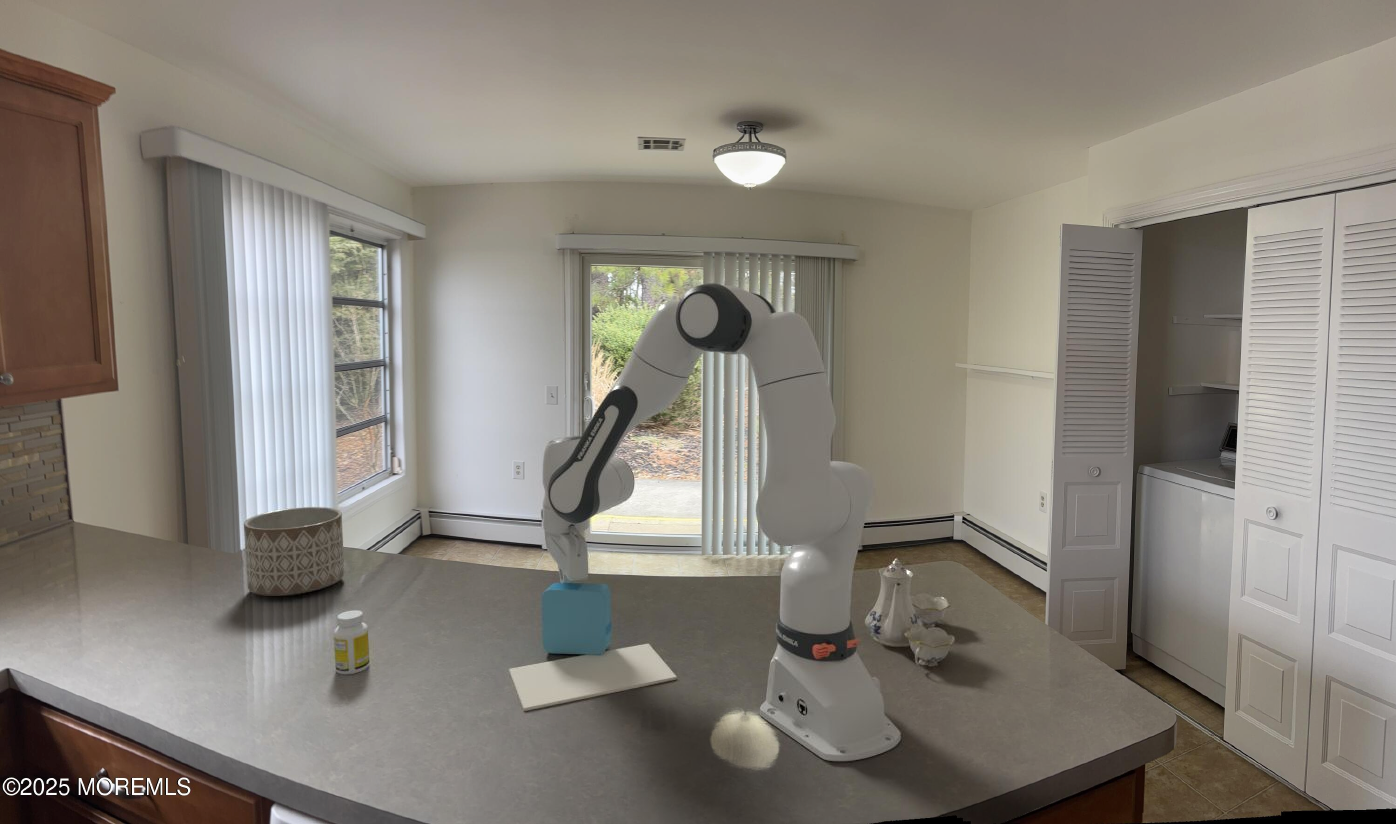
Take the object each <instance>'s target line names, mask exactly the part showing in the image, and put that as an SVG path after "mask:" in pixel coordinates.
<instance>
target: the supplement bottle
mask: <svg viewBox="0 0 1396 824" xmlns="http://www.w3.org/2000/svg"><path fill="white" fill-rule="evenodd" d="M336 619H337V627H336V628H335V629H334V630H333V646H334V663H335V671H336V672H337V673H338V674H339V675H353V674H357V673H360V672H363V671H364V670H366V669H367V668H368V667H369V666H370V646H369V645H370V644H369V642H370V641H369V628H368V625H367V624H366V623H365V622H363V621H364V614H363V611H361V610H356V609H355V610H347V611H343V612H342V613H339V614H338V615H337V618H336Z"/></svg>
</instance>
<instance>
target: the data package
mask: <svg viewBox="0 0 1396 824" xmlns="http://www.w3.org/2000/svg"><path fill="white" fill-rule="evenodd" d="M611 597H612V596H611V589H610V587H609V586H608V585H606V583H580V582H577V583H575V582H573V583H560V582H554V583H552V584H550V586H548V587H547V588H546V589H545V590H544V591H543V592H542V594H541V627H542V628H541V630H542V631H541V632H542V647H543V650H544V651H545V652H546V653H549V654H557V655H558V654H560V655H561V654H563V655H600V654H602V653H604V651H607V648H608V646H610V643H611V641H612V603H611V602H612V601H611V599H612V598H611Z"/></svg>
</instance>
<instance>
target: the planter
mask: <svg viewBox="0 0 1396 824" xmlns="http://www.w3.org/2000/svg"><path fill="white" fill-rule="evenodd" d="M342 518H343V515H342V511H340V510H339V509H336V508H332V507H322V506H309V507H308V506H307V507H293V508H285V509H284V508H283V509H278V510H272V511H267V512H264V513H260V514H256V515H254V516H251V517H249V518H247V519H246V520H244V522H243V531H244V532H243V533H244V548H245V549H244V551H245V563H246V564H245V566H246V567H245V568H246V582H247V588H248V590H249V591H250V592H251V593H253V594H255V595H259V596H266V597H267V596H269V597H281V596H295V595H294V594H298V595H302V594H301V593H303V594H307V593H310V592H315V591H318V590H321V589H324V588H327V587H330V586H331V585H335V584H336V583H337V582H339V581H340V580H342V578H343V577H344V575H345V557H344V537H343V536H344V535H343V519H342ZM306 592H307V593H306Z"/></svg>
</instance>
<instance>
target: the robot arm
mask: <svg viewBox="0 0 1396 824" xmlns="http://www.w3.org/2000/svg"><path fill="white" fill-rule="evenodd" d="M705 352H710V353H720V354H722V355H743V356H745V357H746V359H747V360H748V362H749V363H750V365H751V368H752V371H753V375H754V380H755V385H756V386H755V387H756V389H757V394H758V400H759V404H760V408H761V412H762V413H761V414H762V418H763V424H764V429H765V436H766V467H765V477H764V483H763V486H762V488H761V491H760V493H759V495H758V497H757V499H756V504H755V517H756V521H757V525H758V526H759V529H760V530H761V532H762V533H763V534H764V536H766V537H767V539H768V540H770V541H771V542H773V543H774V544H776V545H779V546H782V547H791V550H790V552H789V554H788V556H787V558H786V560H785V561H784V564H783V566H782V568H781V573H780V594H779V595H780V598H779V599H780V600H779V601H780V602H779V613H778V616H777V617H776V618H777V619H776V624H775V631H776V634H775V635H776V641H777V646H776V649H775V652H774V653H773V657H772V658H771V660H770V663H769V671H768V679H767V685H766V687H767V689H766V697H765V701H764V702H763V703H762V704H761V705H760V708H759V716H760V717H762V718H763V719H765V720H766V721H768V722H769V723H770V724H772V725H773V726H775V727H776V728H778V729H779V730H780V731H782V732H783V733H784V734H786V735H787V736H788V737H790V738H792V739H793V740H794V741H796V742H798V743H799V744H800V745H803V746H804V747H805V748H806V749H808V750H809V751H811V752H812V753H813V754H815V755H816V756H817V757H819V758H821V759H822V760H826V761H829V762H830V761H832V762H851V761H856V760H862V759H863V760H864V759H866V758H867V759H868V758H870V757H874V756H877V755H879V754H882V753H883V754H884V753H885V752H887V751H889V750H892V749H893V748H894V747H896V746H897V745H898V744H899V742H900V741H901V740H902V736H901V735H902V733H901V731H900V729H898V728H897V726H896V725H895V724H894V723H893V722H892V721H891V719H889V718H888V716H886V714H885V702H884V697H883V694H882V693H881V689H882V688H881V687H882V686H881V682H880V680H879V679H878V678H877V677H876V676H871V674H870V672H869V671H868V669H867V668H866V666H865V664H864V662H863V661H862V659H861V658H860V655H859V654H858V651H857V649H858V647H860V646H861V644H859V643H858V642H860V641H861V638H856V636H855V634H856V633H855V630H854V628H853V622H852V621H851V603H852V584H853V583H852V582H853V576H854V569H855V564H856V561H857V555H858V551H859V547H860V543H861V541H862V540H861V538H862V535H863V531H864V526H865V522H866V518H867V516H868V514H869V512H870V510H871V508H872V506H873V504H874V502H875V496H876V491H875V489H876V488H875V483H874V482H873V479H872V478H871V475H870V474H869V472H867V471H866V470H865V469H864V468H863V467H861V466H860V465H858V464H856V463H853V462H847V461H840V460H839V461H838V460H832V459H831V448H832V447H831V446H832V438H833V432H834V431H835V428H836V424H837V417H836V413H835V408H834V404H833V400H832V395H831V391H830V387H829V382H828V378H827V373H826V369H825V366H824V362H823V359H822V355H821V351H820V349H819V346H818V343H817V341H816V338H815V335H814V334H813V331H812V328H811V326H810V325H809V322H808V321H807V319H806V318H805V317H804V316H803V315H800V314H799V313H797V312H792V311H788V310H787V311H782V310H781V311H776V309H775V308H774V306H773V304H772V303H771V302H770V301H769V300H768V299H766V298H765V297H764V296H762V295H761V294H758V293H754V292H750V291H748V290H746V289H744V288H741V287H739V286H733V285H725V284H723V285H722V284H720V283H714V282H713V283H711V282H710V283H709V282H708V283H703V284H699V285H695V286H694V287H692V288H690V289H689V290H687V291H686V292H685V293H684V295H683V296H681V298H680V300H678V301H677V300H670V301H665V302H663V303H662V304H661V305H659V306H658V308H657V309H656V310H655V312H654V313H653V314H652V316H651V318H650V319H649V321H648V322H647V323H646V325H645V327H644V328H643V330H642V332H641V333H640V335H639V337H638V339H637V341H636V342H635V344H634V347H633V350H632V351H631V353H630V355H629V357H628V359H627V362H626V364H625V365H624V367H623V369H622V371H621V373H620V374H619V376H618V378H617V380H616V381H615V383H614V384H613V385H612V387H611V388H610V390H609V392H607V394H606V395H605V397H604V399H603V400H602V401H601V402H600V404H599V406H598V408H597V410H596V411H595V413H594V415H593V416H592V418H591V420H590V422H588V425H587V427H586V428H585V430H584V432H583V434H582V435H581V436H580V435H573V436H566V437H559V438H555V439H552V440H550V441H549V442H548V443H547V444H546V446H545V448H544V453H543V457H542V460H543V461H542V486H543V489H544V497H543V500H542V508H541V509H540V510H541V511H540V518H541V520H542V529H543V530H544V540H545V546H546V547H545V548H546V550H547V552H548V553H549V555H550V556H551V557H552V559H553V560H554V563H556V564H557V569H558V574H559V583H574V582H577V581H578V582H579V581H583V580H584V581H585V580H587V579H588V576H589V553H588V544H587V540H586V539H585V537H584V536H583V532H584V531H587V530H588V528H589V527H590V518H592V517H594V516H596V515H598V514H600V513H603V512H605V511H607V510H611V509H612V508H615V507H618V506H619V505H621V504H623V503H624V502H626V501H628V500H629V499H630V498H631V496H632V494H633V493H634V490H635V475H634V472H633V469H632V468H631V466H630V464H628V462H627V461H626V460H624V459H623V458H621V457H618V456H614V455H615V454H616V452H617V450H618V448H619V447H620V445H621V443H622V442H623V441H624V439H625V437H626V436H627V435H628V434H629V433H630V432H631V431H632V430H633V429H635V428H637V426H639V425H640V424H642V423H643V422H645V421H646V420H648V419H650V418H652V417H653V416H656V415H658V414H660V413H662V412H664V411H665V410H667V409H668V408H670V407H671V406H672V405H673V404H674V402H675V401H676V400H677V399H678V397H679V396H680V395H681V394H682V392H683V390H684V389H685V387H686V385H687V383H688V381H689V380H690V377H691V375H692V373H693V371H694V369H695V366H696V365H697V363H698V361H699V359H700V357H701V356H702V355H703V354H704V353H705Z"/></svg>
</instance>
